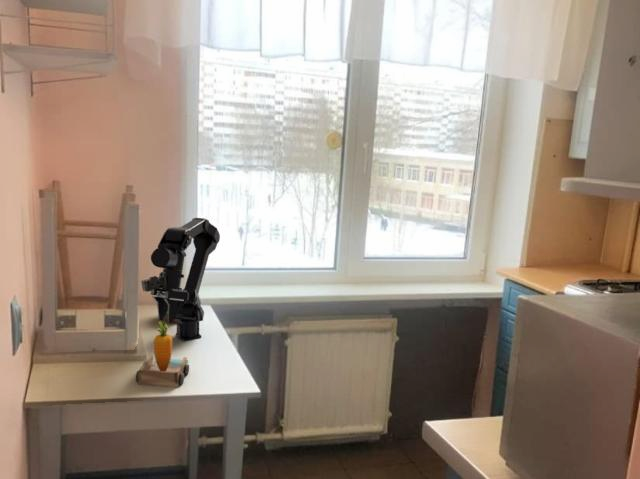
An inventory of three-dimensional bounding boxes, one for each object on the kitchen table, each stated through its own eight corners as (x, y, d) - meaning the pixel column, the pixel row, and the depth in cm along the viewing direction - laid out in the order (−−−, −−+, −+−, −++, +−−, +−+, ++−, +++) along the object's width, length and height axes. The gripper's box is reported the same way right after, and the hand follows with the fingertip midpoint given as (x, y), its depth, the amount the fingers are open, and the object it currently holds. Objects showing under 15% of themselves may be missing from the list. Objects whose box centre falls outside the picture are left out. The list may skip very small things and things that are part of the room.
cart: (152, 359, 178) (152, 346, 177) (194, 362, 178) (194, 349, 177) (134, 384, 162) (134, 370, 161) (180, 387, 162) (181, 373, 161)
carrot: (173, 376, 165) (173, 325, 163) (154, 378, 164) (154, 326, 161) (171, 369, 170) (171, 319, 167) (153, 370, 168) (152, 320, 165)
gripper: (138, 266, 183) (130, 316, 182) (155, 266, 167) (146, 322, 166) (173, 270, 189) (166, 320, 187) (193, 271, 173) (185, 325, 171)
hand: (165, 321), depth 178 cm, fingers open, 9 cm apart
